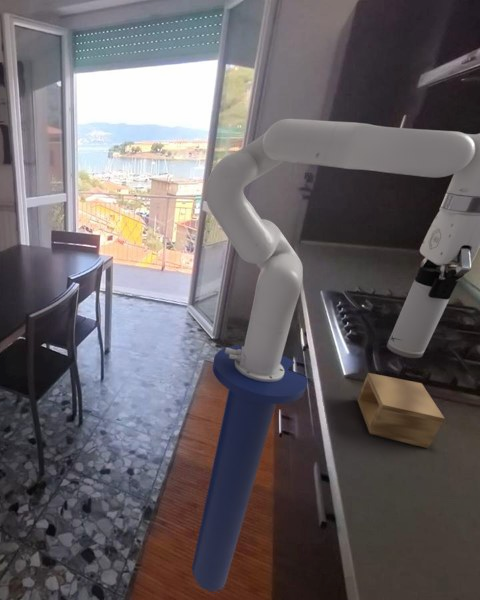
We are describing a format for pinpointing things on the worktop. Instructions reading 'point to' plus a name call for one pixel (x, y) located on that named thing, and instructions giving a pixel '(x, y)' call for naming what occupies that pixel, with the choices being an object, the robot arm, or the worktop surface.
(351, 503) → the worktop surface
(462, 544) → the worktop surface
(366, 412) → the shelf
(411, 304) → the travel mug
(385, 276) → the worktop surface
